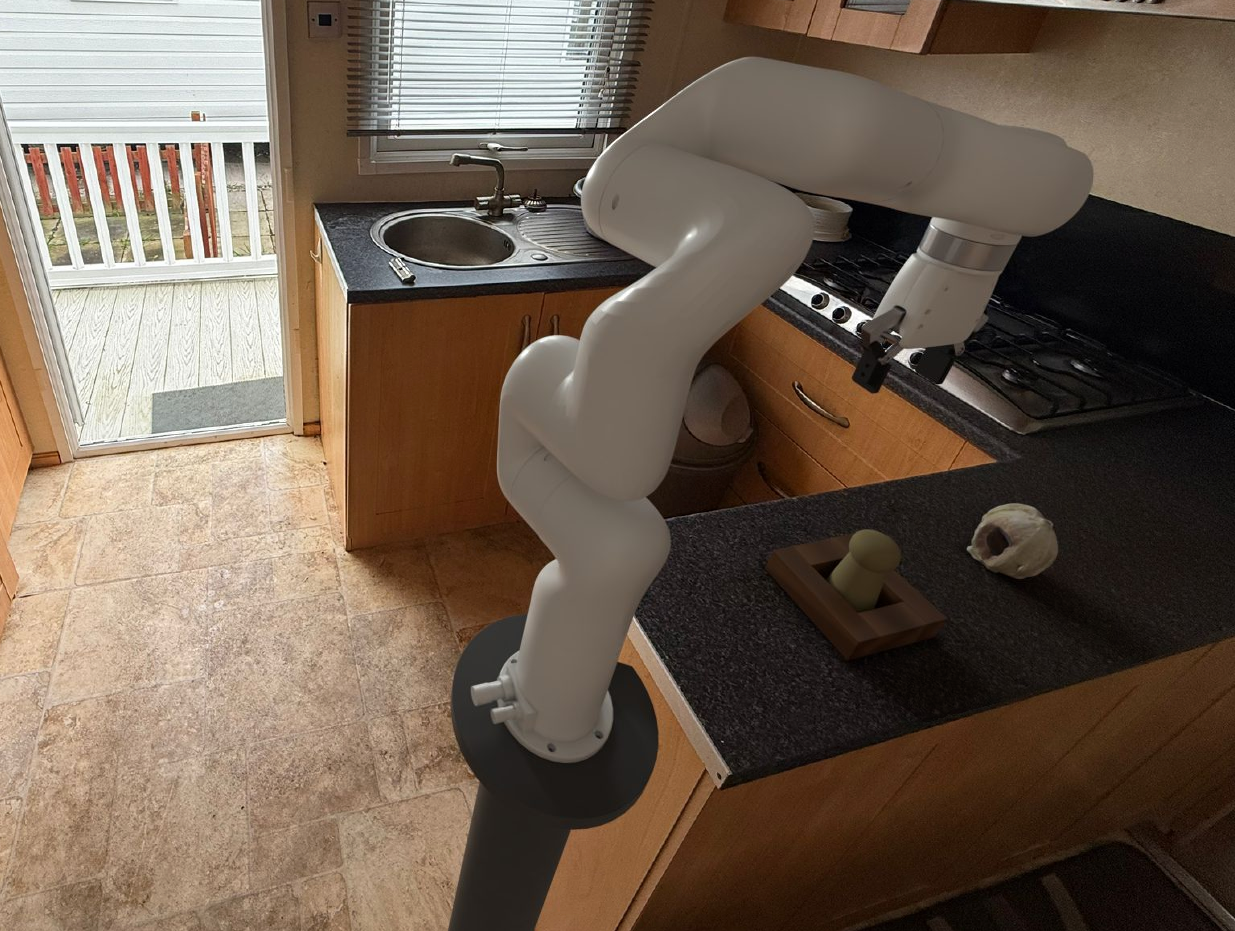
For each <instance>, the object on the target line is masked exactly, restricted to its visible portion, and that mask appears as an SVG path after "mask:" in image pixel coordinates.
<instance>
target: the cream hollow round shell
mask: <svg viewBox="0 0 1235 931" xmlns="http://www.w3.org/2000/svg"><path fill="white" fill-rule="evenodd" d="M1053 527H1054V523H1053V522H1052V521H1051V520H1048V519H1046V518H1045V517H1044V515H1043V513H1042V512H1040V510H1038V509H1037V508H1036V507H1033V506H1031V505H1027V504H1023V503H1006V504H1002V505H997V506H995V507H994V508H992V509H990V510H988V511H987V512H986V513H985V514H984V515H983V516H982V517H981V521H980V523H979V524H978V525H977V528H976V529H975V530H974V535H973V537H972V539H971V545H970V546H969V545H968V546H967V548H966V551H967V552H968V553H969V554H970V555H971V557H972V558H973V559H974V560H977V561H978V562H980V563H981V564H982V565H983V566H984V567H985V568H986V569H987V570H989V571H991V572H993V573H995V574H996V573H1000V574H1003V575H1005V576H1008V577H1011V578H1013V579H1016V580H1024V579H1025V578H1027V577H1028V578H1030V577H1031V578H1032V577H1036V576H1037V575H1039V574H1040V573H1042V572H1044V571H1046V569H1048V568H1049V567H1051V565H1053V563H1054V562H1055V560H1056V559H1057V556H1058V553H1059V543H1058V539H1057V535H1056V533H1055V530H1053Z"/></svg>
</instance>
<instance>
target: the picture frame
mask: <svg viewBox="0 0 1235 931" xmlns="http://www.w3.org/2000/svg"><path fill="white" fill-rule="evenodd" d="M854 534H855V533H850V534H844V535H840V536H836V537H831V538H826V539H821V540H816V541H812V542H807V543H802V544H797V545H793V546H788V547H783V548H779V549H773V551H772V552H771V554H770V557H769V558H768V561H767V563H766V565H765V567H764V570H765V571H767V573H768V574H769V575H770V576H771V577H772V578H773V580H775V582H776V583H777V584H778V585H779V586H780V588H782V589H783V590H784V592H785V593H786V594H787V595H788V596H789V597H790V598H791V599H792V601H793V602H794V603H795V604H796V605H797V606H798V607H799V609H800V610H801V612H803V613H804V614H805V616H806V617H807V618H808V619H810V621H811V622H812V623H813V625H815V626H816V627H817V629H818V630H819V631H820V632H821V633H822V634H823V635H824V637H825V638H826V639H827V640H828V641H829V643H831V644H832V645H833V647H834V648H835V649H836V650H837V651H838V652H839V653H840V655H842V657H843V658H844V659H845V660H846V661H847V662H849V661H853V660H855V659H856V660H857V659H859V658H863V657H868V656H871V655H874V654H877V653H882V652H885V651H889V650H893V649H896V648H901V647H903V646H907V645H911V644H915V643H918V642H922V641H926V640H929V639H933V638H935V637H936V636H938V633H939V632H940V630H942V628H943V626H944V624H946V622H947V620H948V617H947V616H945V615H944V614H943V613H942V612H941V611H940V610H939V609H938V608H937V607H936V606H934V605H933V604H932V603H931V602H930V601H929V600H928V599H927V598H926V597H925V596H923V594H921V592H919V591H918V590H917V589H916V588H915V587H914V586H912V585H911V583H909V582H908V581H907V580H906V579H905V578H904V577H903V576H901V574H899V573H898V571H896V570H895V569H894V570H892V571H890V572H887V574H886V577H885V580H884V583H883V586H882V588H881V591H880V594H879V597H878V600H877V602H876V606H877V608H874V609H873V610H869V611H865V612H861V613H857V612H856V611H855V610H854V609H853V608H852V607H851V606H850V605H849V604H848V603H847V602H846V601H845V600H844V599H843V598H842V597H841V596H840V594H839V593H838V592H837V591H836V590H835V589H834V588H833V587H832V586H831V585H830V584H829V583H828V582H827V581H826V579H827V578H828V576H829V575H830V574H831V573H832V572H833V570H834V569H835V568H836V567H837V566H838V565H839V563H840V562H841V561H842V560H843V559H844V558H845V556H846V555H847V554H848V553H849V552H850V551H849V542H850V540H851V538H852V536H853V535H854Z"/></svg>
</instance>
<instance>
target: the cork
mask: <svg viewBox="0 0 1235 931" xmlns="http://www.w3.org/2000/svg"><path fill="white" fill-rule="evenodd" d="M853 534H854V535H853V536H852V538H851V540H850V542H849V551H850V552H849V553H848V554H847V555H846V556H845V558H844V559H843V560H842V561H841V562H840V563H839V565H838V566H837V567H836V568H835V569H834V570H833V572H832V573H831V574H830V575H829V576H828V578H825V580H826V581H827V582H828V583H829V584H830V585H831V586H832V587H833V588H834V589H835V590H836V591H837V592H838V593H839V594H840V596H841V597H842V598H843V599H844V600H845V601H846V602H847V603H848V604H849V605H850V606H851V607H852V608H853V609H854V610H855V611H856V612H857V613H861V612H865V611H869V610H873V609H876V606H877V604H876V602H877V600H878V597H879V594H880V591H881V588H882V586H883V583H884V580H885V577H886V574H887V572H890V571H892V570H895V569H896V568H898V566H899V565H900V562H901V560H902V552H901V549H900V546H899V545H898V543H896V542H895V541H894V540H893V539H892V538H890V537H889V536H888V535H887V534H884V533H882V532H880V531H877V530H874V529H869V528H868V529H861V530H858V531H857V532H855V533H853Z"/></svg>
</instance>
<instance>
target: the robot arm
mask: <svg viewBox="0 0 1235 931" xmlns="http://www.w3.org/2000/svg"><path fill="white" fill-rule="evenodd" d="M1094 175H1095V173H1094V167H1093V164H1092V161H1091V159H1090V157H1089V156H1088V155H1087V154H1086V153H1085V152H1082V151H1080V150H1078V149H1076V148H1073V147H1071V146H1068V144H1067V141H1066V140H1065V139H1064V138H1062V137H1061V136H1059V135H1058V134H1054V133H1052V132H1048V131H1043V130H1040V129H1035V128H1031V127H1030V128H1029V127H1024V126H1018V125H1017V126H1016V125H1006V124H997V123H996V122H995V123H994V122H991V121H990V120H987V119H983V118H981V117H978V116H975V115H973V114H969V113H967V112H963V111H960V110H957V109H954V108H951V107H948V106H944V105H941V104H937V103H934V102H931V101H928V100H926V99H922V98H920V97H918V96H915V95H912V94H908V93H906V92H903V91H901V90H898V89H896V88H893V87H892V86H888V85H886V84H883V83H881V82H878V81H875V80H873V79H870V78H867V77H864V76H861V75H857V74H853V73H850V72H846V71H841V70H835V69H828V68H822V67H816V66H811V65H806V64H798V63H793V62H788V61H784V60H777V59H773V58H767V57H761V56H747V57H741V58H738V59H734V60H732V61H728V62H727V63H724V64H722V65H720V66H718V67H716V68H714V69H713V70H711V71H710V72H707V73H706V74H704V75H702V76H701V77H700V78H698V79H696V80H695V81H693V82H692V83H690V84H689V85H688V86H686V87H685V88H683V89H681V90H680V91H679V92H678V93H677V94H675V95H674V96H672V97H671V98H670V99H668V100H667V101H665V102H664V103H663V104H661V106H659V107H657V109H655V110H654V111H652V112H651V113H650V114H647V116H645V117H644V118H643V119H642V120H640V121H639V122H638V123H636V124H635V125H633V126H632V127H631V128H630V129H628V130H627V131H625V132H624V133H623V134H621V135H620V136H619V137H618V138H617V139H615V140H614V141H613V142H612V143H611V144H610V145H608V146H607V147H606V148H605V149H604V150H603V152H602V153H601V154H600V155H599V156H598V157H597V159H596V160H595V162H594V163H593V164H592V166H591V167H590V168H589V170H588V172H587V174H586V177H585V179H584V182H583V185H582V189H581V193H580V194H581V195H580V207H581V212H582V215H583V218H584V220H585V222H586V224H587V225H588V227H589V228H590V229H591V230H592V231H593V232H594V233H595V234H596V235H597V236H598V237H600V239H603V240H604V241H605V242H607V243H609V244H610V245H612V246H614V247H616V248H619V249H620V250H622V251H624V252H626V253H627V254H630V255H631V256H633V257H635V258H637V259H639V260H641V261H643V262H645V263H646V264H649V265H650V266H653V267H655V268H654V269H653V270H651V271H650V272H648V273H647V274H646V275H644V276H643V277H641V278H639V279H638V280H636V281H635V282H633V283H632V284H630V285H629V286H626V287H625V288H624V289H622V290H620V291H617V292H616V293H615V294H613V295H612V296H610V297H608V298H607V299H606V300H604V301H603V302H602V303H601V304H600V305H598V306H597V307H596V308H595V310H594V311H592V312H591V314H590V315H589V317H588V318H587V319H586V321H585V322H584V326H583V328H582V332H581V335H580V338H579V339H577V338H575V337H572V336H569V335H562V334H561V335H560V334H556V335H548V336H545V337H541V338H539V339H537V340H536V341H534V342H532V343H531V344H529V345H528V346H527V347H526V348H524V349H523V350H522V351H521V352H520V353H519V355H518V356H517V358H515V359H514V361H513V363H512V364H511V366H510V368H509V370H508V372H507V373H506V375H505V379H504V381H503V384H502V387H501V393H500V400H499V411H498V412H499V413H498V430H497V431H498V432H497V454H496V455H497V456H496V458H497V459H496V474H497V480H498V485H499V487H500V490H501V492H502V495H503V496H504V497H505V499H506V500H507V501H508V503H509V504H510V505H511V507H512V508H513V509H514V510H515V511H516V512H517V513H518V515H519V516H520V517H521V518H522V519H523V520H524V521H525V522H526V524H528V525H529V527H530V528H531V529H532V530H533V532H535V533H536V535H537V536H538V537H539V539H540V540H541V542H542V543H543V544H544V545H545V547H547V548H548V550H549V551H550V552H551V553H552V555H553V556H554V558H555V559H554V560H552V561H550V562H549V563H547V564H545V566H544V567H543V568H542V569H541V570H540V572H539V573H538V575H537V577H536V579H535V581H534V585H533V589H532V592H531V598H530V603H529V606H528V607H529V608H528V612H527V614H528V616H527V620H526V625H525V629H524V633H523V638H522V642H521V646H520V651H518V652H516V653H515V654H514V655H512V656H511V657H510V658H509V659H508V660H507V662H506V663H505V664H504V666H503V668H502V670H501V672H500V675H499V677H498V678H497V681H495V682H490V683H483V684H479V685H475V686H471V696H472V700H473V703H474V705H475V706H479V705H483V704H488V703H491V702H492V701H495V700H497V703H498V708H494V709H491V718H492V721H493V723H494V724H497V723H501V722H504V723H505V725H506V726H507V728H508V730H509V731H510V733H511V734H512V735H513V736H514V737H515V738H516V740H517V741H518V742H519V743H520V744H522V745H523V746H524V747H525V748H527V749H528V750H529V751H531V752H532V753H534V754H536V755H538V756H540V757H542V758H545V759H548V760H550V761H554V762H561V763H573V762H579V761H582V760H586V759H588V758H589V757H591V756H593V755H595V754H596V753H597V752H598V751H599V750H600V749H601V748H602V747H603V746H604V744H605V742H606V741H607V739H608V737H609V734H610V731H611V728H612V723H613V705H612V700H611V697H610V694H609V691H608V688H609V685H610V682H611V679H612V676H613V673H614V670H615V668H616V665H617V662H619V659H620V656H621V653H622V650H623V647H624V645H625V641H626V639H627V636H628V634H629V631H630V628H631V624H632V622H633V619H634V616H635V614H636V612H637V610H638V608H639V605H640V603H641V601H642V599H643V598H644V595H645V594H646V592H647V591H648V589H649V588H650V587H651V585H652V583H653V582H654V580H655V579H656V577H657V576H658V575H659V573H660V572H661V570H662V569H663V567H664V565H665V563H666V562H667V560H668V557H669V554H670V552H671V548H672V537H671V536H672V535H671V532H670V529H669V526H668V524H667V522H666V520H665V519H664V516H662V514H661V513H660V511H659V510H658V509H657V508H656V506H655V505H654V504H653V503H652V502H651V500H649V499H648V498H647V497H648V496H649V495H651V494H653V493H654V492H655V491H656V490H657V489H658V488H659V486H660V485H661V483H662V482H663V480H664V479H665V477H666V476H667V473H668V472H669V469H670V465H671V463H672V460H673V456H674V453H675V449H676V446H677V442H678V439H679V433H680V430H681V426H682V422H683V417H684V414H685V409H686V406H687V402H688V398H689V393H690V388H691V386H692V382H693V378H694V375H695V372H696V370H697V367H698V365H699V363H700V362H701V360H702V358H703V357H704V356H705V354H706V353H707V352H709V350H710V349H711V348H712V347H713V346H714V345H715V343H717V341H718V340H719V339H721V338H722V337H724V336H725V334H726V333H728V332H729V331H730V330H732V329H733V328H734V327H735V326H736V325H738V324H739V323H740V322H741V321H742V320H743V319H745V318H746V317H747V316H748V315H749V314H751V313H752V312H753V311H754V310H755V309H757V308H758V307H759V306H760V305H761V304H763V303H764V302H765V301H766V300H767V299H769V298H770V297H771V296H772V295H773V294H775V293H776V292H777V291H778V290H779V289H780V288H782V287H783V286H784V285H785V284H786V283H787V282H788V281H789V280H790V279H791V278H792V277H793V275H794V274H795V273H796V272H797V270H798V269H799V268H800V266H801V265H802V263H804V261H805V259H806V257H807V256H808V255H807V254H808V253H809V251H810V248H811V246H812V244H813V241H814V235H815V233H816V232H815V230H816V223H815V218H814V215H813V213H812V212H813V211H811V209H810V208H809V206H808V205H807V204H806V202H805V201H804V200H802V198H800V197H799V196H797V195H796V194H795V193H794V192H792V191H791V190H789V189H787V188H785V187H784V186H786V187H788V188H791V189H794V190H798V191H802V192H807V193H811V194H816V195H822V196H827V197H833V198H840V199H845V200H852V201H857V202H862V203H867V204H872V205H877V206H880V207H881V206H882V207H885V208H890V209H893V210H896V211H901V212H905V213H909V214H914V215H919V216H925V217H931V219H930V222H929V223H928V225H927V228H926V229H925V232H924V235H923V236H922V238H921V241H920V243H919V245H918V246H917V249H916V252H915V253H912V254H911V255H910V256H909V258H908V259H907V260H906V261H905V263H904V264H903V266H902V267H901V268H900V270H899V271H898V273H897V274H896V276H895V277H894V279H893V281H892V282H891V284H890V285H889V288H888V289H887V290H886V293H885V294H884V296H883V298H882V300H881V302H880V304H879V305H878V307H877V309H876V311H875V313H874V315H873V317H872V319H870V320H869V321H867V322H866V323H864V324H862V326H861V328H860V340H859V345H860V352H861V353H862V354H861V357H860V358H859V361H858V363H857V365H856V367H855V369H854V371H853V374H852V376H851V380H852V381H853V382H854V383H855V384H857V385H858V386H860V387H861V388H862V389H864V390H866V391H867V392H868V393H870V394H874V395H875V394H878V393H879V392H880V390H881V388H882V386H883V384H884V382H885V380H886V379H887V376H888V374H889V373H890V371H891V368H892V366H893V365H892V364H891V363H890V361H892V360H893V359H894V358H895V357H897V355H899V354H900V353H901V352H902V351H903V350H913V349H915V350H916V349H924V351H923V353H922V355H921V357H920V359H919V360H918V362H917V364H916V366H915V368H914V372H915V373H916V374H917V375H919V376H920V377H923V378H924V379H926V380H928V381H929V382H931V383H933V384H934V385H935V386H937V385H942V384H944V382H945V380H946V379H947V376H948V375H949V373H950V371H951V369H952V368H953V366H954V364H955V362H956V361H957V359H958V356H960V355H962V354H963V353H964V352H965V350H966V345H967V344H968V343H970V342H971V341H972V340H974V339H975V338H976V337H977V336H976V335H977V333H978V331H980V330H981V328H982V327H983V326H984V325H985V324H987V322H988V320H989V316H988V315H986V314H985V313H984V312H985V310H986V308H987V305H988V304H989V302H990V300H991V297H992V295H993V292H994V290H995V287H996V285H997V282H998V280H999V277H1000V275H1001V274H1002V273H1003V272H1004V270H1005V268H1006V266H1007V264H1008V263H1009V261H1010V258H1011V257H1012V255H1013V253H1014V252H1015V250H1016V248H1017V246H1018V244H1019V243H1020V241H1021V239H1022V237H1030V238H1031V237H1032V238H1033V237H1039V236H1042V235H1045V234H1049V233H1051V232H1054V231H1055V230H1056V229H1058V228H1061V227H1062V226H1063V225H1065V224H1066V223H1068V221H1070V220H1071V219H1072V218H1073V217H1074V216H1075V215H1076V214H1077V213H1078V212H1079V211H1080V209H1081V208H1083V206H1084V204H1085V202H1086V201H1087V199H1088V197H1089V195H1090V193H1091V190H1092V187H1093V184H1094ZM782 185H784V186H782ZM892 333H895V334H897V335H898V336H899V337H901V338H899V337H897V336H895V335H893V334H892ZM885 341H887V342H888V343H889V344H892V345H890V346H889V347H888V348H887V349H886V350H885V348H884V346H883V343H884V342H885ZM597 737H598V738H599V739H598V738H597ZM549 750H550V751H552V752H550V751H549Z"/></svg>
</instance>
